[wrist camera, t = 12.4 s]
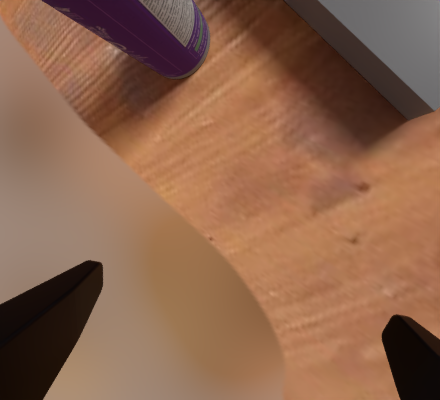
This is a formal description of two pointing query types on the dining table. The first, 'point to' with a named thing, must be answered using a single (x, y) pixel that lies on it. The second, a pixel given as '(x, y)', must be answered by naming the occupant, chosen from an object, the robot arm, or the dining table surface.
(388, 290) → the dining table surface
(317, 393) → the dining table surface
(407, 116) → the socket block
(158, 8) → the container
